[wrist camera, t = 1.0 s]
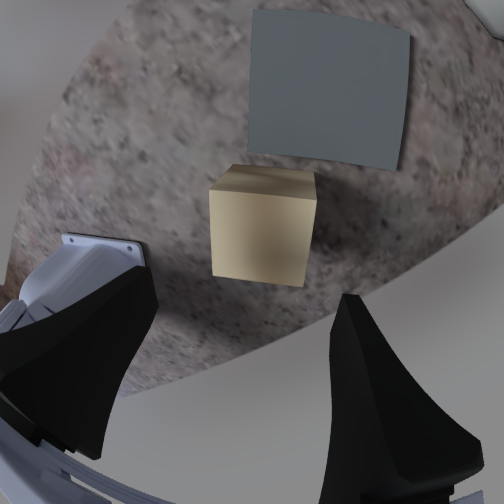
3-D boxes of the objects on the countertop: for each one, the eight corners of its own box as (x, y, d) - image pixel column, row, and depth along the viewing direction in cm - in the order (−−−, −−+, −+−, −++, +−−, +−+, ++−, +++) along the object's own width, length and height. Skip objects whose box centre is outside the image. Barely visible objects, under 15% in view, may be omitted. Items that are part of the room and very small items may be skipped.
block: (233, 233, 20) (212, 275, 16) (233, 164, 17) (209, 189, 13) (304, 241, 19) (303, 287, 15) (313, 171, 17) (316, 200, 12)
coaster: (249, 150, 16) (247, 151, 16) (254, 11, 12) (252, 9, 11) (392, 169, 15) (395, 171, 15) (406, 33, 10) (409, 32, 10)
